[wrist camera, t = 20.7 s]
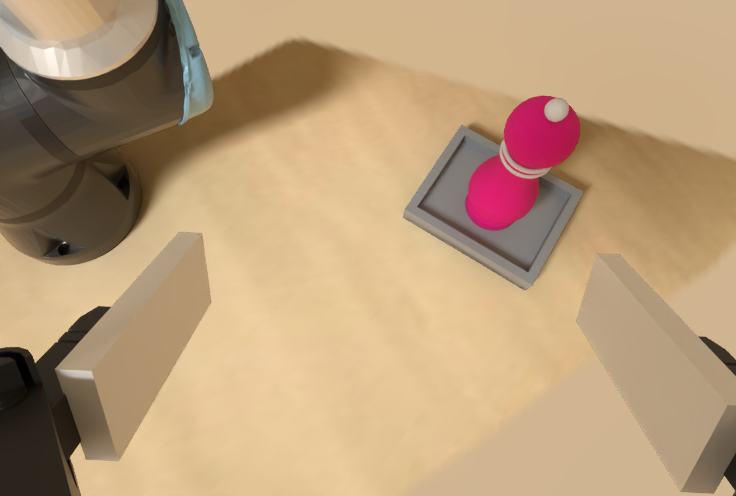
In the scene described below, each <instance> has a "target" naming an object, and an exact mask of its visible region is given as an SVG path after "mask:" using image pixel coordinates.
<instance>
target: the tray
mask: <svg viewBox="0 0 736 496" xmlns="http://www.w3.org/2000/svg"><path fill="white" fill-rule="evenodd" d="M499 154H500V145H498V144H496V143H494V142H492V141H491V140H489V139H487V138H485V137H483V136H481V135H480V134H478V133H476V132H474V131H472V130H471V129H469V128H467V127H465V126H463V125H461V127H460V128H459V130H458V131H457V133H456V134H455V136H454V137H453V139H452V140H451V141H450V143H449V144H448V146H447V147H446V149H445V150H444V152H443V153H442V155H441V156H440V158H439V159H438V161H437V162H436V164H435V165H434V167H433V168H432V170H431V171H430V173H429V174H428V176H427V177H426V179H425V180H424V182H423V183H422V185H421V186H420V188H419V189H418V191H417V192H416V194H415V195H414V196H413V198H412V199H411V201H410V202H409V204H408V205H407V207H406V208H405V211H404V216H403V218H405V219H407V220H408V221H410V222H412V223H413V224H415V225H417V226H418V227H420V228H422V229H423V230H425V231H427V232H428V233H430V234H432V235H433V236H435V237H437V238H438V239H440V240H442V241H443V242H445V243H447V244H448V245H450V246H452V247H453V248H455V249H457V250H458V251H460V252H462V253H463V254H465V255H467V256H468V257H470V258H472V259H473V260H475V261H477V262H478V263H480V264H482V265H483V266H485V267H487V268H488V269H490V270H492V271H493V272H495V273H497V274H498V275H500V276H502V277H503V278H505V279H507V280H508V281H510V282H512V283H513V284H515V285H517V286H518V287H520V288H522V289H523V290H526V289H527V288H529V287H530V286H532V285H533V283H534V281H535V280H536V278H537V276H538V274H539V272H540V271H541V269H542V267H543V265H544V263H545V262H546V260H547V258H548V256H549V254H550V252H551V251H552V249H553V247H554V245H555V243H556V242H557V240H558V238H559V236H560V234H561V233H562V231H563V229H564V227H565V225H566V224H567V222H568V220H569V218H570V216H571V214H572V213H573V211H574V209H575V207H576V205H577V204H578V202H579V200H580V198H581V196H582V195H583V193H584V192H583V191H582V190H580V189H578V188H576V187H574V186H572V185H571V184H569V183H567V182H565V181H563V180H562V179H560V178H558V177H556V176H554V175H552V174H551V173H549V172H547V173H546V174H545V175H543V176H541V177H538V180H539V190H538V196H537V199H536V202H535V204H534V205H533V207H532V208H531V210H530V211H529V212H528V214H527V215H525V216H524V217H523V218H521V219H519V220H517V221H515V222H514V223H513V224H512V225H510V226H509V227H508V228H505V229H503V230H498V231H490V230H486V229H483V228H481V227H479V226H477V225H476V224H475V223H474V222H473V221H472V220H471V219H470V218H469V216H468V214H467V212H466V208H465V200H466V196H467V194H468V185H469V181H470V178H471V176H472V174H473V173H474V172H475V170H476V169H477V168H478V166H480V165H481V164H482V163H483V162H484V161H486V160H487V159H489V158H491V157H493V156H496V155H499Z"/></svg>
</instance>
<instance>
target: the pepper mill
mask: <svg viewBox="0 0 736 496" xmlns="http://www.w3.org/2000/svg"><path fill="white" fill-rule="evenodd" d="M579 136H580V124H579V119H578V117H577V115H576V113H575V111H574V110H573V109H572V107H570V106H569V105H568V103H567V102H566V101H565V100H563V99H561V98H555V97H551V96H538V97H533V98H530V99H528V100H526V101H524V102H523V103H521V104H519V105H518V106H517V107H516V108H515V109H514V110H513V112H512V113H511V114H510V116H509V117H508V119H507V122H506V125H505V129H504V139H503V141H502V143H501V145H500V154H499V155H496V156H493V157H491V158H489V159H487V160H486V161H484V162H483V163H482V164H481V165H480V166H478V168H477V169H476V170H475V172H474V173H473V174H472V176H471V178H470V181H469V185H468V194H467V196H466V200H465V208H466V212H467V214H468V216H469V218H470V219H471V220H472V221H473V222H474V223H475V224H476V225H477V226H479V227H481V228H483V229H486V230H490V231H498V230H503V229H505V228H508V227H509V226H510V225H512V224H513V223H514V222H515V221H517V220H519V219H521V218H523V217H524V216H525V215H527V214H528V212H529V211H530V210H531V208H532V207H533V205H534V204H535V202H536V199H537V196H538V190H539V180H538V177H541V176H543V175H545V174H546V173H547V172H549V171H550V169H551V168H552V167H553V166H556V165H558V164H560V163H562V162H563V161H564V160H565V159H567V158H568V157H569V156H570V155H571V153H572V152H573V151H574V149H575V147H576V145H577V143H578V140H579Z"/></svg>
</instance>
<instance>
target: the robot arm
mask: <svg viewBox="0 0 736 496" xmlns="http://www.w3.org/2000/svg"><path fill="white" fill-rule="evenodd" d="M213 99H214V91H213V86H212V82H211V78H210V74H209V71H208V68H207V64H206V62H205V59H204V56H203V53H202V51H201V50H200V48H199V42H198V40H197V36H196V33H195V30H194V27H193V25H192V22H191V20H190V17H189V15H188V13H187V10H186V8H185V6H184V3H183V1H182V0H0V233H1V234H2V235H3V236H4V237H5V238H6V240H7V241H8V242H9V243H10V244H11V245H12V246H13V247H15V248H16V249H17V250H19V251H20V252H22V253H24V254H25V255H28V256H30V257H32V258H35V259H37V260H39V261H42V262H45V263H49V264H54V265H74V264H80V263H84V262H87V261H90V260H93V259H95V258H97V257H99V256H101V255H103V254H105V253H107V252H108V251H110V250H111V249H112V248H114V247H115V246H116V245H117V244H118V243H119V242H120V241H121V240H122V239H123V238H124V237H125V236H126V235H127V234H128V232H129V231H130V229H131V228H132V226H133V225H134V223H135V221H136V219H137V216H138V213H139V210H140V206H141V199H142V190H141V184H140V180H139V177H138V175H137V173H136V171H135V169H134V168H133V166H132V165H131V164H130V163H129V162H128V161H127V160H126V159H125V158H124V157H123V156H122V155H121V154H120V153H119V152H118V151H117V150H115V149H114V148H116V147H119V146H122V145H124V144H127V143H130V142H132V141H135V140H138V139H141V138H143V137H146V136H149V135H151V134H154V133H157V132H160V131H162V130H165V129H168V128H170V127H173V126H179V125H182V124H184V123H185V122H186V121H187V120H188V119H191V118H193V117H195V116H197V115H199V114H202V113H204V112H206V111H207V110H208V109H209V108H210V107H211V105H212V103H213ZM210 303H211V296H210V288H209V281H208V273H207V266H206V258H205V251H204V243H203V236H202V233H191V232H179V233H178V234H177V235H176V236H175V237H174V238H173V239H172V240H171V242H170V243H169V244H168V245H167V246H166V247H165V248H164V249H163V250H162V251H161V253H160V254H159V255H158V256H157V257H156V258H155V259H154V260H153V261H152V263H151V264H150V265H149V266H148V267H147V268H146V269H145V270H144V271H143V272H142V274H141V275H140V276H139V277H138V278H137V279H136V280H135V281H134V282H133V284H132V285H131V286H130V287H129V288H128V289H127V290H126V291H125V292H124V293H123V295H122V296H121V297H120V298H119V299H118V300H117V301H116V302H115V303H114V304H113V306H112V307H102V306H98V307H97V308H95V309H93V310H92V311H90V312H88V313H86V314H85V315H83V316H81V317H80V318H79V319H78V320H77V321H76V322H75V323H74V324H73V325H72V326H71V327H70V328H69V329H68V332H65V333H64V334H63V335H62V336H61V337H60V339H59V340H58V343H57V342H56V343H55V344H54V345H53V346H52V347H51V348H50V349H49V350H48V351H47V352H46V353H45V354H44V355H43V356H42V357H41V358H40V359H39V360H38V361H37V362H36V363H35V362H34V359H33V356H32V355H31V353H30V352H29V351H28V350H26V349H23V348H20V347H5V348H1V349H0V496H81V494H80V490H79V486H78V483H77V479H76V475H75V472H74V468H73V465H72V462H71V459H70V456H71V455H72V453H73V452H74V450H75V449H76V448H77V446H78V445H79V443H81V446H82V449H83V452H84V455H85V458H86V460H104V461H119V460H120V458H121V456H122V455H123V453H124V451H125V450H126V448H127V446H128V444H129V443H130V441H131V439H132V438H133V436H134V434H135V432H136V431H137V429H138V427H139V425H140V424H141V422H142V420H143V419H144V417H145V415H146V413H147V412H148V410H149V408H150V407H151V405H152V403H153V401H154V400H155V398H156V396H157V395H158V393H159V391H160V389H161V388H162V386H163V384H164V383H165V381H166V379H167V377H168V376H169V374H170V372H171V371H172V369H173V367H174V365H175V364H176V362H177V360H178V358H179V357H180V355H181V353H182V352H183V350H184V348H185V346H186V345H187V343H188V341H189V340H190V338H191V336H192V334H193V333H194V331H195V329H196V328H197V326H198V324H199V322H200V321H201V319H202V317H203V316H204V314H205V312H206V310H207V309H208V307H209V305H210ZM576 322H577V324H578V325H579V327H580V328H581V330H582V332H583V333H584V335H585V337H586V338H587V340H588V342H589V343H590V345H591V346H592V348H593V350H594V351H595V353H596V355H597V356H598V358H599V359H600V361H601V363H602V364H603V366H604V368H605V369H606V371H607V373H608V374H609V376H610V377H611V379H612V380H613V382H614V384H615V386H616V387H617V389H618V391H619V392H620V394H621V395H622V397H623V399H624V400H625V402H626V404H627V405H628V407H629V408H630V410H631V412H632V413H633V415H634V416H635V418H636V420H637V422H638V423H639V425H640V426H641V428H642V430H643V431H644V433H645V434H646V436H647V438H648V439H649V441H650V443H651V444H652V446H653V447H654V449H655V451H656V452H657V454H658V456H659V457H660V459H661V461H662V462H663V464H664V466H665V467H666V469H667V471H668V472H669V474H670V475H671V477H672V478H673V480H674V482H675V483H676V485H677V487H678V488H679V490H680V492H692V493H693V492H694V493H711V494H713V493H714V492H715V491H716V489H717V487H718V485H719V484H720V482H721V480H722V479H723V477H724V476H725V477H726V478H727V480H728V481H729V482H730V484H731V485H732V487H733V488H734V489H735V493H734V494H733V496H736V360H735V359H734V358H733V357H732V356H731V355H730V354H729V353H728V352H727V351H726V350H725V349H724V348H722V347H721V346H719V345H718V344H716V343H715V342H713V341H711V340H710V339H708V338H707V337H698V336H697V335H696V334H695V333H694V332H693V331H692V330H691V329H690V328H689V327H688V326H687V325H686V324H685V323H684V321H682V319H681V318H680V317H679V316H678V315H677V314H676V313H675V312H674V311H673V310H672V309H671V308H670V307H669V306H668V305H667V304H666V303H665V301H664V300H663V299H662V298H661V297H660V296H659V295H658V294H657V293H656V292H655V291H654V290H653V289H652V288H651V287H650V286H649V285H648V284H647V283H646V282H645V281H644V279H643V278H642V277H641V276H640V275H639V274H638V273H637V272H636V271H635V270H634V269H633V268H632V267H631V266H630V265H629V264H628V263H627V262H626V261H625V260H624V258H623V257H622V256H621V255H619V254H600V253H597V254H596V257H595V260H594V263H593V267H592V270H591V273H590V277H589V280H588V283H587V287H586V290H585V293H584V296H583V300H582V303H581V306H580V310H579V313H578V316H577V319H576Z"/></svg>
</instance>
